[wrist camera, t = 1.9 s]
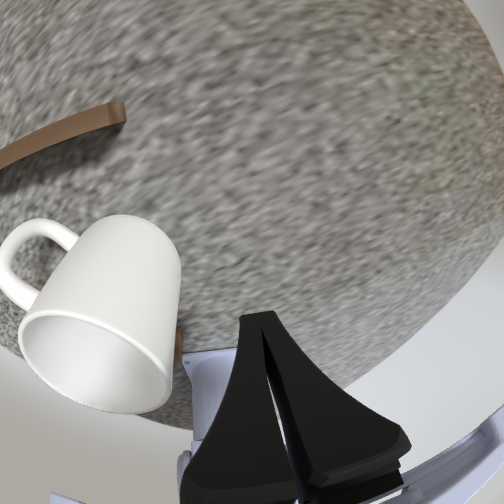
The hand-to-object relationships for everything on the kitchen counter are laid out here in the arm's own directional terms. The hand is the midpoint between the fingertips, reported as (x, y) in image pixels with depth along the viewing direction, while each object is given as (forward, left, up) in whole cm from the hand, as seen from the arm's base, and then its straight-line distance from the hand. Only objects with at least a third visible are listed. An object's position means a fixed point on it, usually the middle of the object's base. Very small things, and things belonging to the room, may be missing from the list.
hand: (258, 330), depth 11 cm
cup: (0, +10, -10) cm, 14 cm away
